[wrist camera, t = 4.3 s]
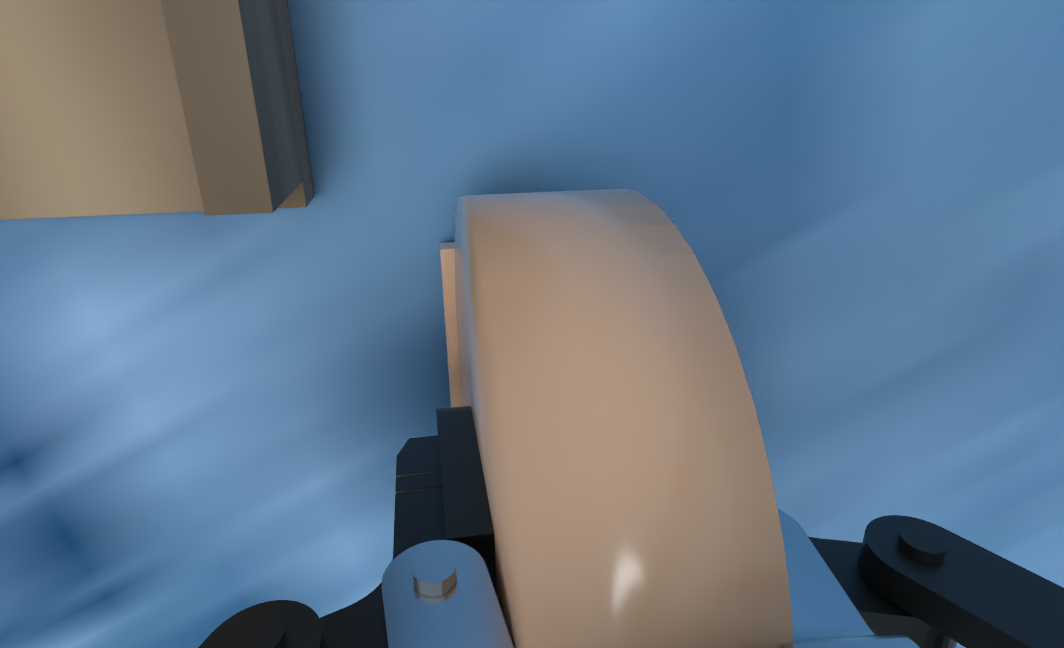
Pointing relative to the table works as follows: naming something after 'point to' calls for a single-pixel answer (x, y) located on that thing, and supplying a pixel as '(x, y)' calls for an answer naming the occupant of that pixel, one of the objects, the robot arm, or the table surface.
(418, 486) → the robot arm
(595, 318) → the saucer
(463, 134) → the table surface
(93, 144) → the dish rack
